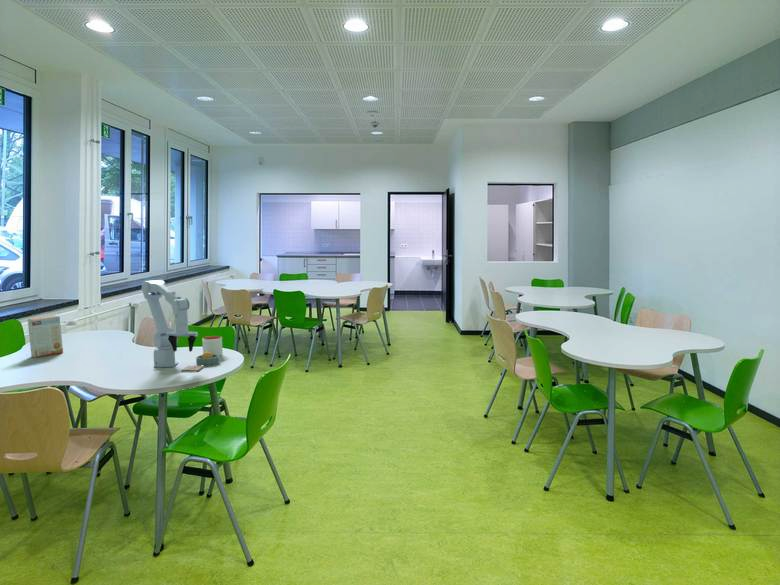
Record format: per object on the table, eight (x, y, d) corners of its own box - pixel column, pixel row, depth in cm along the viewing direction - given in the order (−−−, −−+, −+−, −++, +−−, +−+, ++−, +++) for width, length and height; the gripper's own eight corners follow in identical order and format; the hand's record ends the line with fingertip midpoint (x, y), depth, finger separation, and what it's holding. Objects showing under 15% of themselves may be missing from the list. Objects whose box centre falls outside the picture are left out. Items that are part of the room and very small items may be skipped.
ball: (200, 363, 269) (199, 353, 268) (204, 361, 274) (203, 350, 274) (211, 363, 269) (210, 352, 268) (215, 360, 274) (213, 350, 273)
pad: (181, 371, 256) (181, 370, 256) (188, 367, 264) (188, 365, 264) (198, 371, 256) (197, 370, 256) (204, 367, 264) (204, 365, 263)
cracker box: (58, 351, 300) (55, 315, 297) (63, 353, 296) (60, 316, 294) (30, 356, 288) (27, 318, 286) (35, 358, 285) (32, 319, 282)
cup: (216, 358, 282) (215, 340, 280) (199, 357, 284) (198, 339, 282) (226, 354, 291) (225, 336, 290) (209, 353, 293) (208, 335, 292)
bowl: (193, 365, 266) (193, 359, 266) (201, 360, 277) (201, 354, 276) (214, 365, 266) (214, 359, 266) (221, 360, 277) (221, 354, 276)
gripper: (162, 325, 252) (164, 353, 254) (193, 324, 252) (194, 352, 254) (169, 322, 259) (170, 349, 261) (198, 322, 259) (200, 349, 261)
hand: (183, 351), depth 258 cm, fingers open, 7 cm apart
